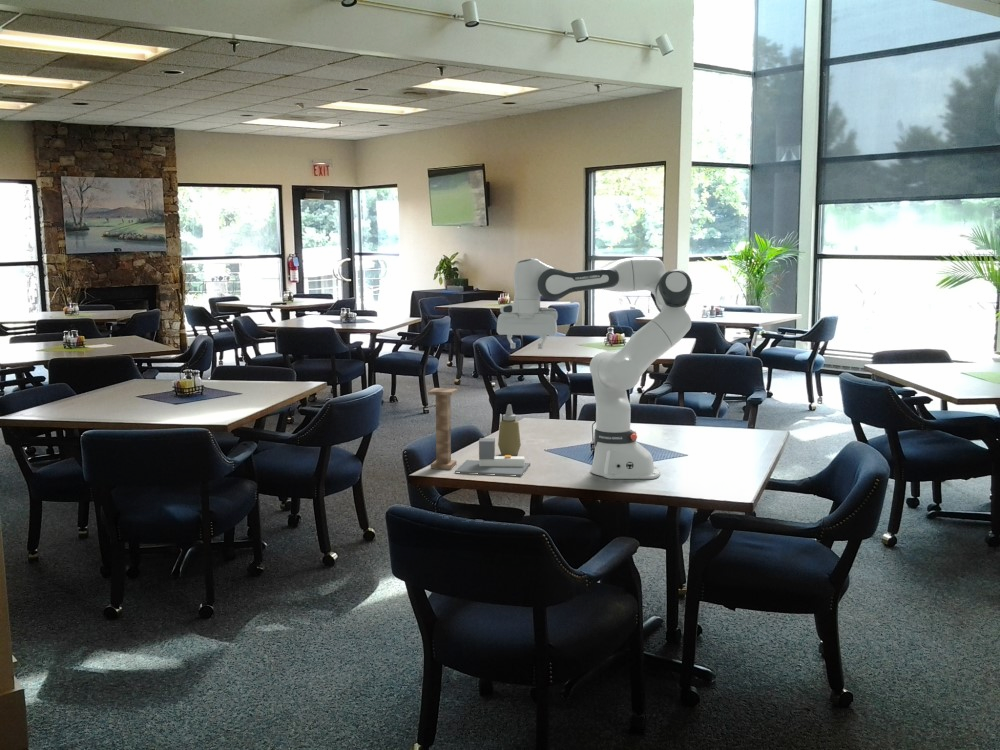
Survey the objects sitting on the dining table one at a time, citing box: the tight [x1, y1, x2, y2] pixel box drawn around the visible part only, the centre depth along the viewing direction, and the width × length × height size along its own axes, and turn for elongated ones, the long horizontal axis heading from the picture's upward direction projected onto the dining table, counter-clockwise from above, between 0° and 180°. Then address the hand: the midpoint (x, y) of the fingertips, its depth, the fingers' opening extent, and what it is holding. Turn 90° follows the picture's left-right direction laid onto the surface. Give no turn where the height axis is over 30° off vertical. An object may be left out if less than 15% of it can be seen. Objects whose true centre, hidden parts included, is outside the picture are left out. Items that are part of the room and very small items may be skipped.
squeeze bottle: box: [497, 404, 522, 456], centre depth 329 cm, size 8×8×18 cm
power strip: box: [478, 437, 526, 467], centre depth 311 cm, size 15×5×8 cm, turn 87°
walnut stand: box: [427, 387, 459, 470], centre depth 310 cm, size 8×8×26 cm
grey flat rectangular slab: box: [454, 459, 531, 477], centre depth 309 cm, size 22×16×1 cm
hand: (526, 348), depth 313 cm, fingers open, 8 cm apart
